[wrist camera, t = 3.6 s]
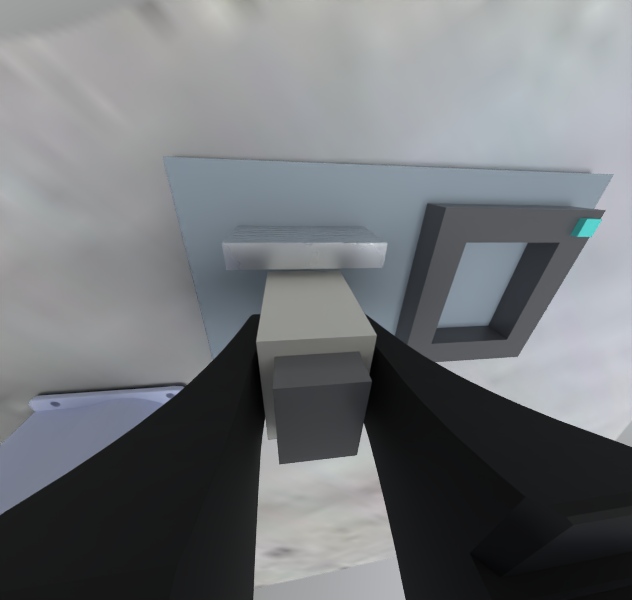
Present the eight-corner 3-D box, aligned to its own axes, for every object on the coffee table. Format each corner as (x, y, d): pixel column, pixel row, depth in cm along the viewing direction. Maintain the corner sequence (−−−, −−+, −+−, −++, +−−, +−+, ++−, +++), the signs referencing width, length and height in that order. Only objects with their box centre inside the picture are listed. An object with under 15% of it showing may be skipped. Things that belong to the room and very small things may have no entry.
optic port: (391, 347, 15) (403, 368, 14) (427, 203, 11) (450, 208, 9) (499, 341, 16) (521, 359, 15) (570, 206, 12) (613, 211, 10)
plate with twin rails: (252, 342, 14) (244, 381, 11) (237, 225, 11) (221, 243, 8) (349, 337, 15) (363, 373, 12) (363, 226, 11) (387, 242, 9)
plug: (273, 347, 11) (266, 475, 7) (267, 271, 9) (251, 373, 5) (333, 344, 12) (367, 462, 7) (339, 270, 10) (393, 363, 5)
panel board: (220, 364, 16) (217, 375, 15) (173, 157, 10) (162, 156, 9) (498, 347, 18) (508, 356, 17) (590, 174, 12) (613, 174, 11)
